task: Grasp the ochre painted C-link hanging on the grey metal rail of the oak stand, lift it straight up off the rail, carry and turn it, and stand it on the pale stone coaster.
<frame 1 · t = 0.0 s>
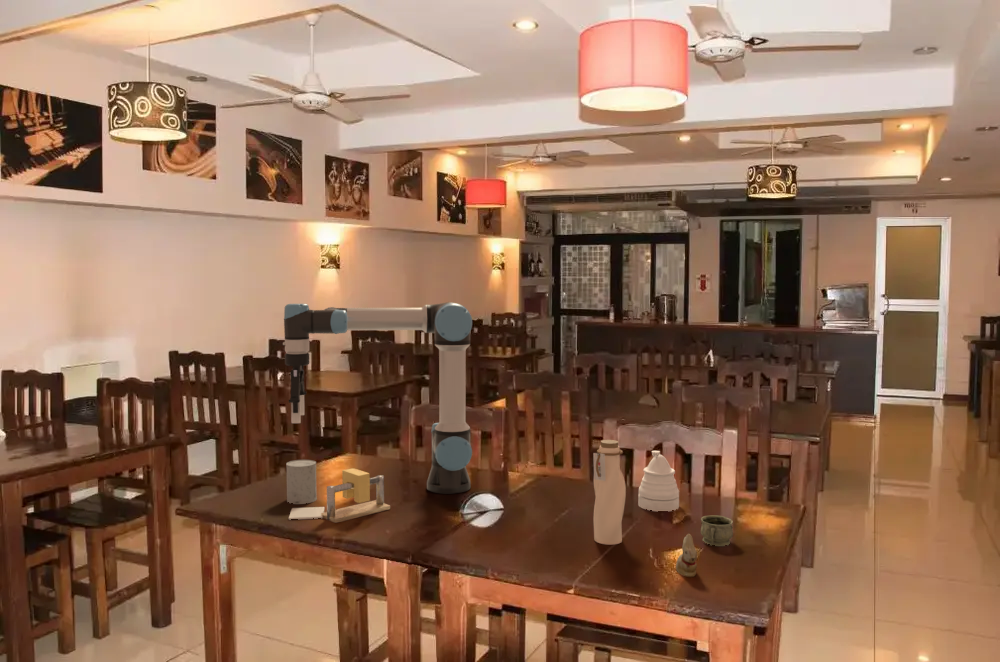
hand: (298, 419, 251), 28 cm above the table, fingers open, 13 cm apart
rail stand: (356, 512, 245), on the table
water bottle: (607, 541, 221), on the table
grey speckled cylinder: (301, 500, 259), on the table
coaster: (307, 514, 244), on the table
chocolate bunny: (686, 572, 198), on the table
honey pot: (658, 506, 255), on the table
c link: (356, 498, 245), point 4 cm above the table, touching rail stand
vessel: (716, 542, 221), on the table
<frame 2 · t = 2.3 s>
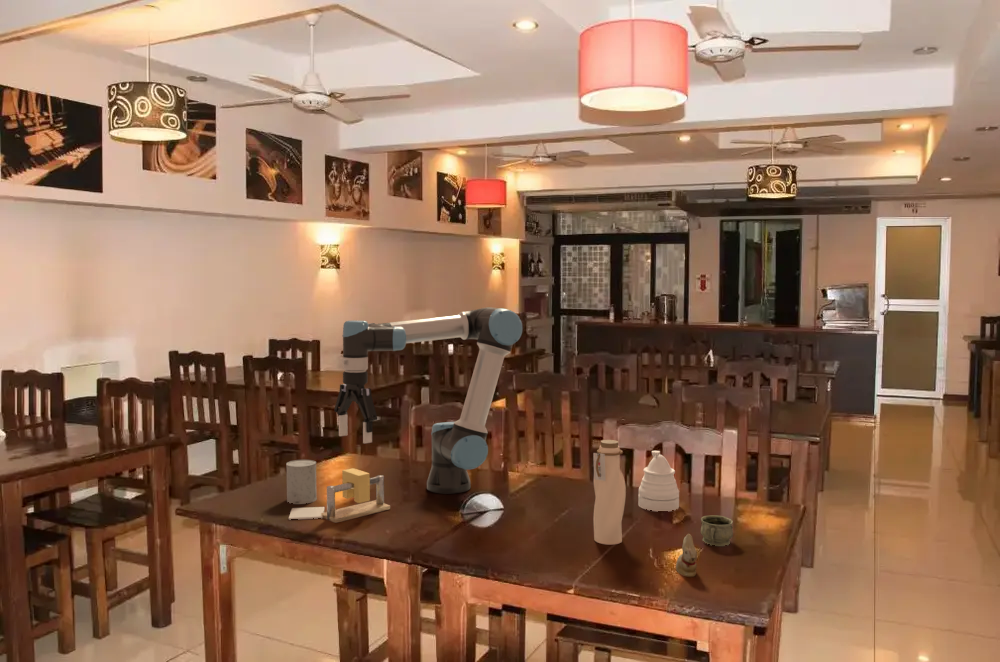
hand: (355, 439, 244), 23 cm above the table, fingers open, 13 cm apart
nothing on the table moved.
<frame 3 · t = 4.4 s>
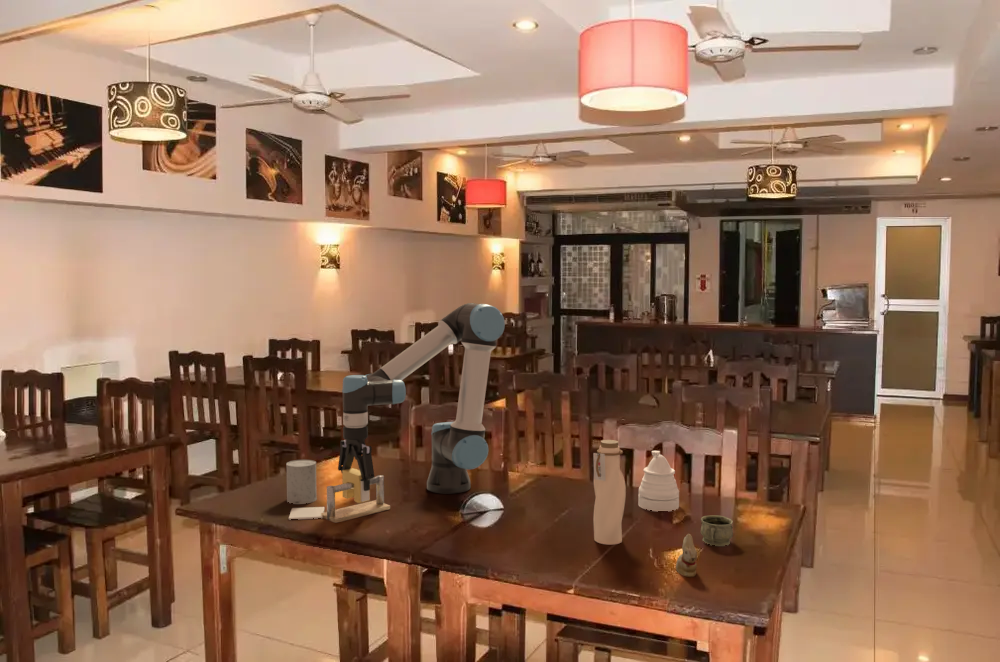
hand: (356, 497, 245), 5 cm above the table, fingers closed on c link, 9 cm apart
c link: (356, 498, 245), point 5 cm above the table, touching gripper, rail stand
everything else where it was.
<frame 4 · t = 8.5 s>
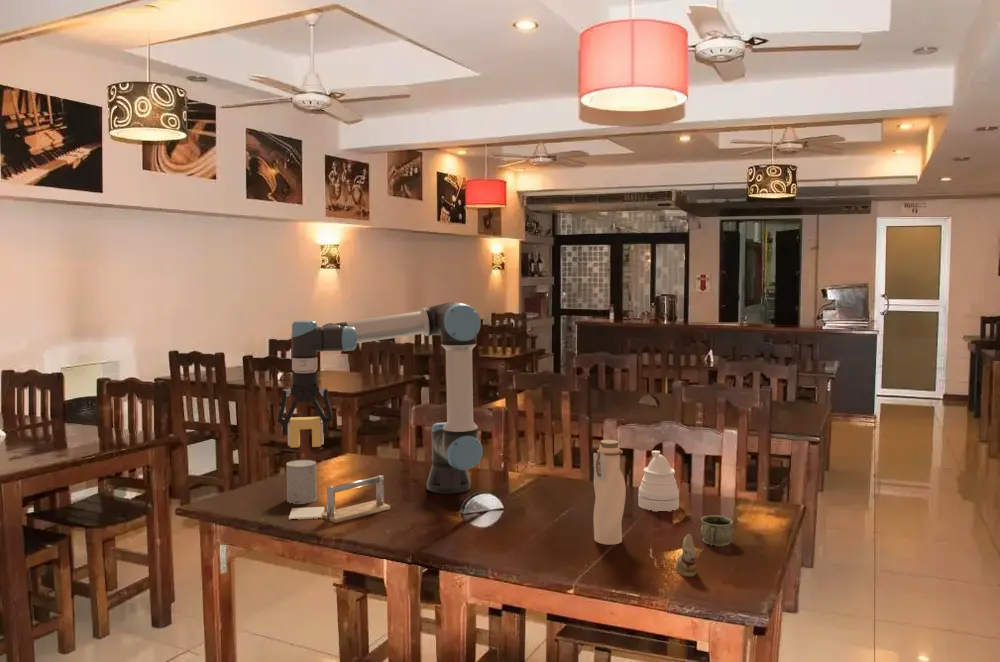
hand: (306, 444, 242), 22 cm above the table, fingers closed on c link, 9 cm apart
c link: (306, 445, 242), point 21 cm above the table, touching gripper
everything else where it was.
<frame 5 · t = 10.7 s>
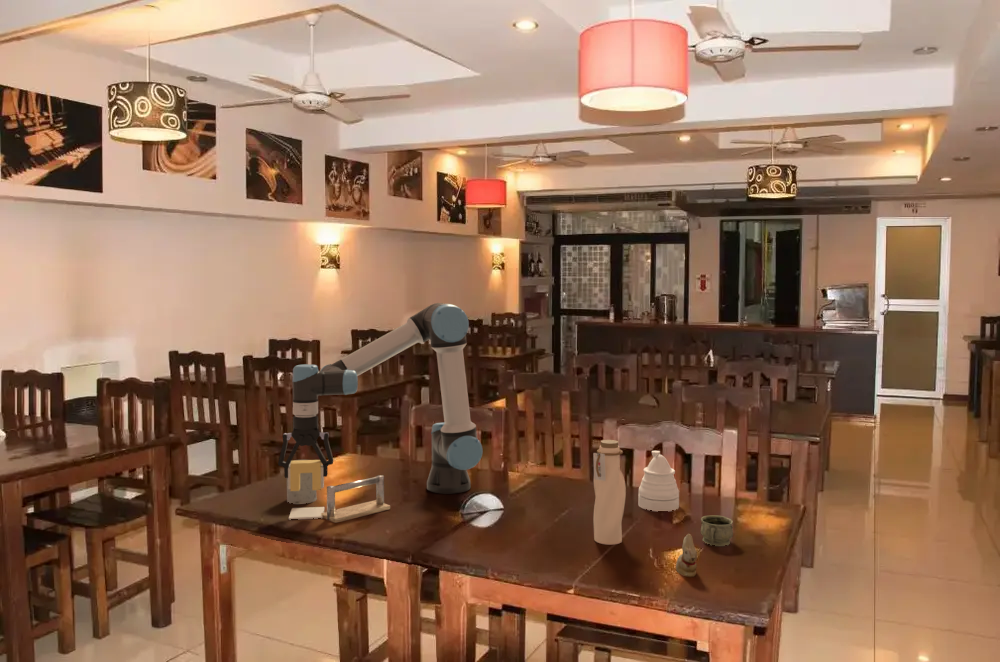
hand: (306, 487, 243), 8 cm above the table, fingers closed on c link, 9 cm apart
c link: (306, 488, 243), point 8 cm above the table, touching gripper
everything else where it was.
when the fingers open (2 cm above the table, at t = 12.5 s): c link drops 1 cm, resting on coaster.
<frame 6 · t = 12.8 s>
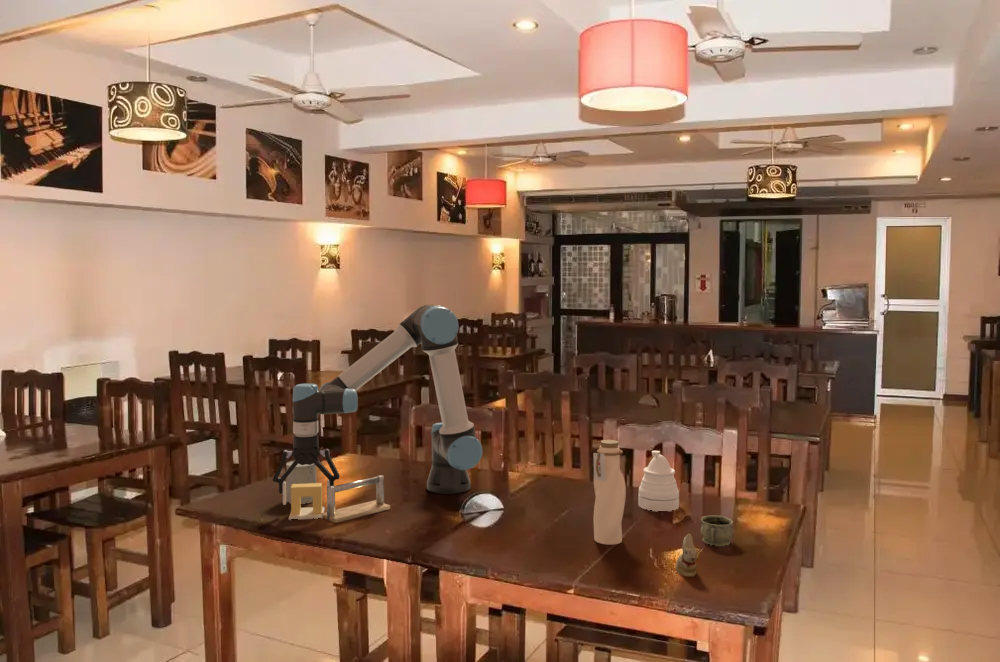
hand: (306, 502, 244), 4 cm above the table, fingers open, 13 cm apart
c link: (306, 512, 244), point 1 cm above the table, touching coaster
everything else where it was.
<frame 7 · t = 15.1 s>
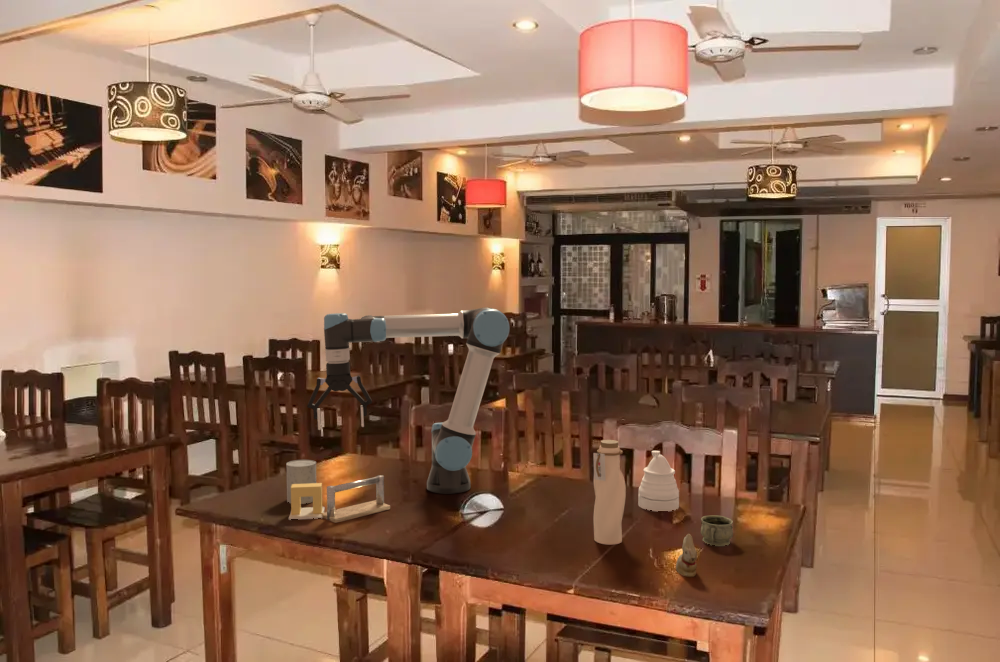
hand: (341, 427, 253), 25 cm above the table, fingers open, 13 cm apart
nothing on the table moved.
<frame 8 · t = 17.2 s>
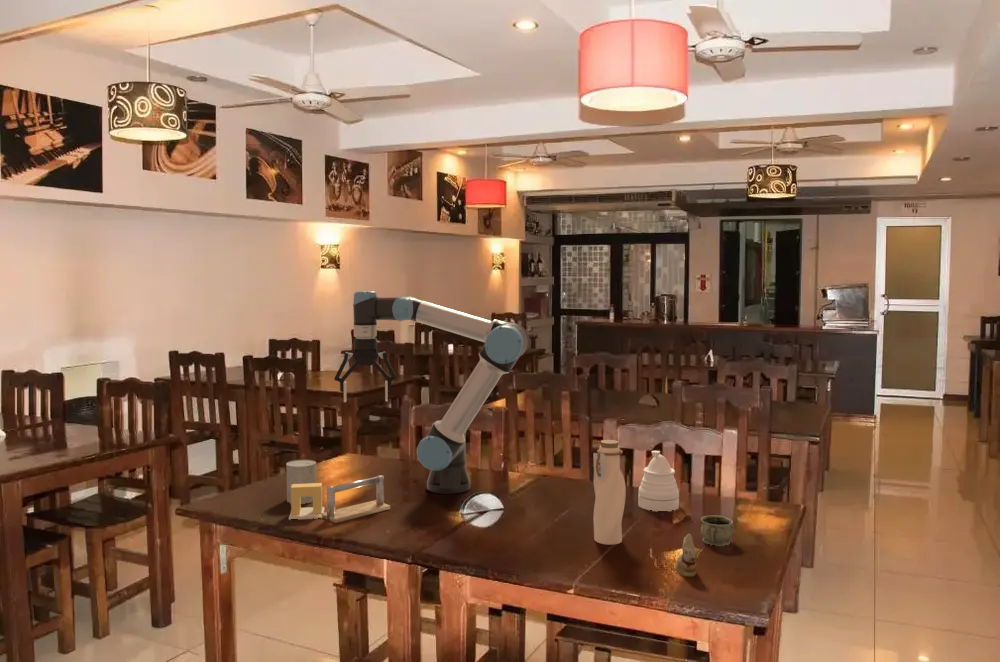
hand: (365, 401, 263), 32 cm above the table, fingers open, 13 cm apart
nothing on the table moved.
at the end: c link inside the target area on the coaster (0.0 cm from its centre), point 0.6 cm above the coaster's base; the gripper is holding nothing; c link tilted 0° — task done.
